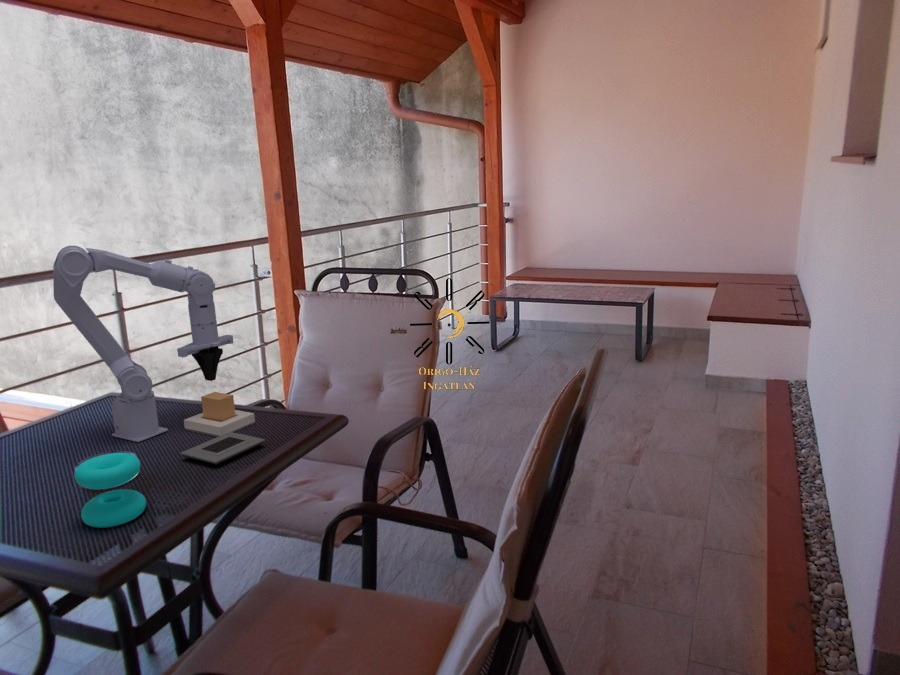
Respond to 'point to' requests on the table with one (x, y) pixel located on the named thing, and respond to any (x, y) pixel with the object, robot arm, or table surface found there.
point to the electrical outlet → (223, 447)
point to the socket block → (219, 424)
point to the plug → (218, 406)
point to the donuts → (114, 503)
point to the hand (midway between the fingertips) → (210, 379)
